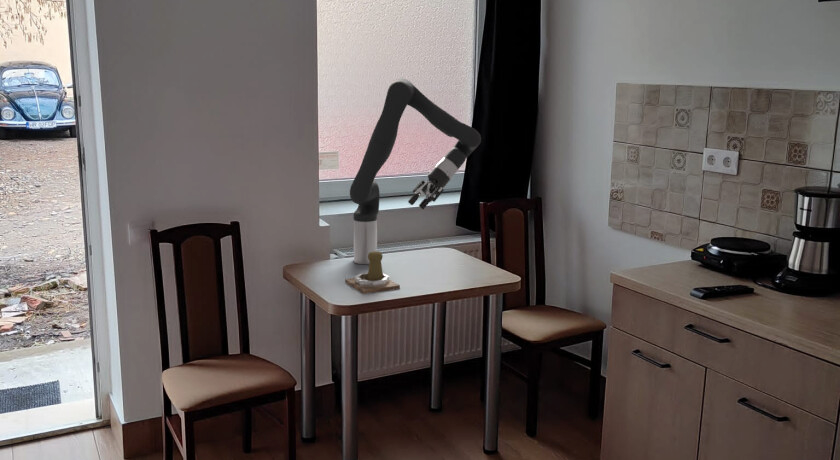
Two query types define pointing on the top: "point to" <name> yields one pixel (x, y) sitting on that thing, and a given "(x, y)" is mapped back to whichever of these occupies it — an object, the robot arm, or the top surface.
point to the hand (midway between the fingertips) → (415, 205)
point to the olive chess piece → (375, 266)
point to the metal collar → (369, 283)
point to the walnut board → (365, 289)
